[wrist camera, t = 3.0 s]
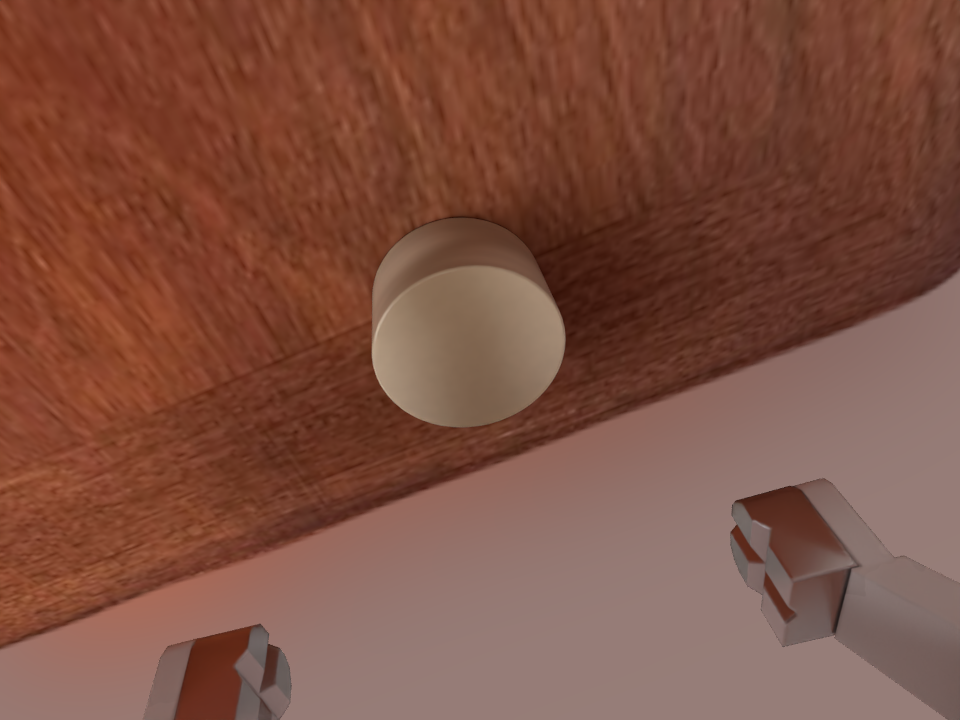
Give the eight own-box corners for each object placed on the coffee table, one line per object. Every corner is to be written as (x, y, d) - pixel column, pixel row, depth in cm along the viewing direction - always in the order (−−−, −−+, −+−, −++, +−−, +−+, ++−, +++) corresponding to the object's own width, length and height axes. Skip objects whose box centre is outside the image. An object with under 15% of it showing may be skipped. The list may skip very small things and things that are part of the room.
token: (527, 196, 17) (552, 243, 15) (552, 344, 20) (576, 403, 18) (348, 241, 17) (344, 295, 15) (399, 381, 20) (402, 446, 18)
